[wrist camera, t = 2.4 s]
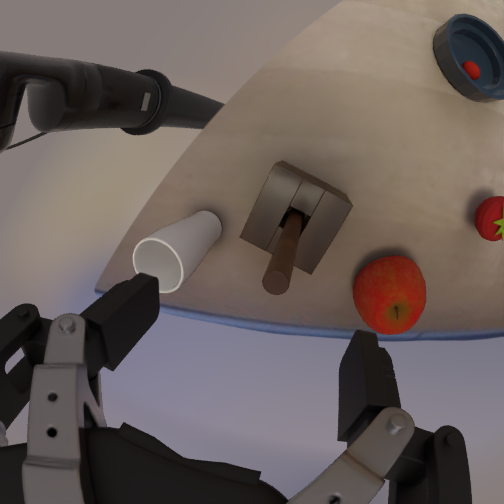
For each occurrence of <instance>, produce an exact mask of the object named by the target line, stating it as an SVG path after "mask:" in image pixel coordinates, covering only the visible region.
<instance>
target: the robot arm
mask: <svg viewBox="0 0 504 504" xmlns="http://www.w3.org/2000/svg"><path fill="white" fill-rule="evenodd" d="M25 88H27V96H28V112H29V117H30V120H31V122H32V124H33V126H34V127H35V128H36V129H37V130H38V131H41V132H42V133H40V134H38V135H36V136H33V137H31V138H29V139H26V140H24V141H22V142H19V143H17V144H14V145H11V146H9V145H10V143H11V141H12V138H13V134H14V130H15V125H16V121H17V117H18V113H19V109H20V105H21V101H22V98H23V94H24V90H25ZM162 99H163V94H162V89H161V86H160V84H159V83H158V81H157V80H155V79H154V78H152V77H150V76H146V75H141V74H137V73H133V72H130V71H126V70H122V69H117V68H113V67H109V66H103V65H100V64H94V63H88V62H83V61H77V60H70V59H62V58H53V57H44V56H36V55H29V54H22V53H14V52H5V51H0V153H2V152H3V151H4V150H7V149H11V148H13V147H16V146H19V145H21V144H24V143H26V142H29V141H31V140H33V139H36V138H38V137H40V136H42V135H44V134H47V133H49V132H58V131H67V130H78V129H93V128H141V127H144V126H146V125H148V124H149V123H150V122H151V121H153V119H154V118H155V117H156V116H157V114H158V112H159V110H160V108H161V105H162ZM8 146H9V147H8ZM159 310H160V303H159V280H158V278H157V277H155V276H151V275H148V274H145V273H142V272H140V273H138V274H137V275H136V276H135V277H133V278H132V279H131V280H130V281H129V280H126V281H123V282H121V283H118V284H116V285H115V286H114V287H112V288H111V289H110V290H109V291H108V292H106V293H105V294H104V295H102V297H100V298H99V299H98V300H96V301H95V302H94V303H93V304H92V305H90V306H89V307H88V308H87V309H85V310H84V311H83V312H82V313H81V314H80V315H77V314H72V313H68V314H63V315H60V316H58V317H57V318H55V319H54V320H50V319H46V318H42V317H40V314H39V312H38V308H37V307H36V306H35V305H32V304H21V305H19V306H17V307H15V308H14V309H12V310H11V311H10V312H9V313H8V314H6V315H5V316H4V317H3V318H2V319H0V504H369V503H370V501H371V500H372V499H373V498H374V497H375V495H376V494H377V493H378V491H380V489H381V488H382V486H383V485H384V483H385V480H384V479H387V480H390V481H389V497H388V504H472V494H471V482H470V473H469V465H468V458H467V452H466V446H465V441H464V437H463V435H462V434H461V432H460V431H459V430H458V429H456V428H455V427H453V426H449V425H447V426H442V427H440V428H439V429H438V430H437V431H436V432H435V433H433V432H429V431H426V430H423V429H420V428H418V427H415V424H414V421H413V419H412V417H411V416H410V415H409V413H407V412H406V411H405V410H403V409H401V404H400V398H399V393H398V387H397V382H396V379H395V373H394V370H393V364H392V359H391V357H390V355H389V354H388V352H387V351H386V350H385V348H381V347H379V345H378V340H377V336H376V334H375V333H372V332H367V331H362V330H356V331H355V333H354V335H353V337H352V339H351V341H350V343H349V346H348V348H347V350H346V352H345V354H344V356H343V358H342V360H341V363H340V368H339V414H338V441H344V442H347V449H346V450H345V451H344V452H343V453H342V454H341V455H340V456H339V457H338V458H337V459H336V460H335V461H334V462H333V463H332V464H331V465H330V466H329V467H328V468H327V469H325V470H324V471H323V472H322V473H321V474H320V475H319V476H318V477H316V478H315V479H314V480H313V481H312V482H311V483H309V484H308V485H307V486H306V487H305V488H304V489H302V490H301V491H300V492H298V493H297V494H296V495H295V496H293V497H292V498H291V499H289V500H287V499H286V497H285V496H284V495H283V494H282V493H280V492H279V491H278V490H277V489H275V488H274V487H273V486H271V485H269V484H268V483H266V482H264V481H262V480H260V479H259V478H260V474H261V472H260V471H256V470H251V469H247V468H243V467H239V466H235V465H232V464H228V463H222V462H212V461H202V460H194V459H188V458H184V457H182V456H181V455H179V454H177V453H176V452H175V451H173V450H172V449H170V448H169V447H167V446H166V445H165V444H163V443H162V442H160V441H159V440H158V439H156V438H155V437H153V436H151V435H149V434H147V433H145V432H143V431H140V430H138V429H136V428H134V427H132V426H130V425H128V424H126V423H124V422H123V424H122V425H121V427H120V428H119V429H118V428H111V427H107V424H106V421H105V418H104V413H103V405H102V393H101V377H100V372H99V371H100V370H101V368H102V367H103V366H104V367H105V368H107V369H109V370H111V371H114V370H115V369H116V367H117V366H118V365H119V364H120V363H121V361H122V360H123V359H124V358H125V357H126V355H127V354H128V353H129V352H130V351H131V349H132V348H133V347H134V346H135V345H136V343H137V342H138V341H139V340H140V339H141V338H142V336H143V335H144V334H145V333H146V332H147V331H148V329H149V328H150V327H151V326H152V325H153V324H154V322H155V321H156V320H157V317H158V315H159ZM20 347H21V348H22V350H23V353H24V355H25V356H24V357H23V358H22V359H21V360H20V361H19V362H18V363H17V364H16V365H15V366H14V367H13V368H12V369H11V371H10V372H9V373H8V374H6V372H5V364H6V362H7V361H8V359H9V358H10V357H11V356H12V355H13V354H14V353H15V352H16V351H17V350H19V348H20ZM29 400H30V403H29V414H28V433H27V434H28V435H27V443H21V444H15V445H9V446H8V439H7V438H6V437H5V436H6V430H7V429H8V427H9V426H10V424H11V423H12V422H13V421H14V419H15V418H16V417H17V415H18V414H19V413H20V412H21V410H22V409H23V408H24V406H25V405H26V404H27V403H28V402H29ZM383 478H384V479H383Z"/></svg>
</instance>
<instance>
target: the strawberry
mask: <svg viewBox="0 0 504 504" xmlns="http://www.w3.org/2000/svg"><path fill="white" fill-rule="evenodd" d="M475 226H476V228H477V230H478V232H479V234H480V235H481V237H482V238H484V239H486V240H489V241H498V240H500V239H502V241H503V238H504V197H503V196H496V197H490V198H488V199H486V200H485V201H483V202H482V203H481V204H480V205H479V207H478V208H477V210H476V214H475Z"/></svg>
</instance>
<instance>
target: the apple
mask: <svg viewBox="0 0 504 504" xmlns="http://www.w3.org/2000/svg"><path fill="white" fill-rule="evenodd" d="M353 299H354V303H355V306H356V309H357V310H358V312H359V314H360V316H361V318H362V319H363V321H364V322H365V323H366V324H367V325H368V326H369V327H370V328H372V329H373V330H375V331H376V332H378V333H381V334H386V335H392V334H399V333H403V332H405V331H407V330H409V329H410V328H411V327H412V326H413V325H414V324H415V323H416V322H417V321H418V319H419V317H420V315H421V314H422V312H423V310H424V307H425V303H426V284H425V280H424V278H423V275H422V273H421V271H420V269H419V267H418V266H417V265H416V263H414V262H413V261H412V260H410V259H409V258H407V257H403V256H388V257H382V258H379V259H377V260H375V261H372V262H370V263H369V264H368V265H367V266H366V267H364V268H363V269H362V270H361V271H360V272H359V274H358V275H357V276H356V278H355V281H354V285H353Z"/></svg>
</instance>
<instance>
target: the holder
mask: <svg viewBox="0 0 504 504" xmlns="http://www.w3.org/2000/svg"><path fill="white" fill-rule="evenodd" d="M289 205H290V206H291V207H293V208H295V209H297V210H299V211H301V212H303V213H304V214H306V216H305V218H304V220H303V222H302V226H301V232H300V237H299V241H298V246H297V251H296V256H295V261H294V265H293V266H295V267H297V268H299V269H301V270H303V271H305V272H307V273H308V274H310V275H311V274H312V273H313V271H314V270H315V268H316V267H317V265H318V263H319V262H320V260H321V259H322V257H323V255H324V254H325V252H326V250H327V249H328V247H329V246H330V244H331V242H332V241H333V239H334V237H335V236H336V234H337V232H338V231H339V229H340V227H341V226H342V224H343V222H344V221H345V219H346V217H347V215H348V214H349V212H350V210H351V208H352V207H353V205H352V203H351V201H350V200H349V198H348V196H347V195H346V194H344V193H343V192H341V191H339V190H337V189H336V188H334V187H332V186H330V185H329V184H327V183H325V182H323V181H321V180H319V179H318V178H316V177H314V176H312V175H310V174H308V173H306V172H304V171H302V170H300V169H299V168H297V167H295V166H293V165H291V164H289V163H287V162H285V161H283V160H282V161H279V162H277V163H275V164H274V166H273V168H272V170H271V172H270V174H269V176H268V178H267V180H266V182H265V184H264V186H263V188H262V190H261V193H260V195H259V197H258V199H257V201H256V203H255V205H254V207H253V209H252V211H251V213H250V216H249V218H248V220H247V222H246V224H245V226H244V228H243V230H242V233H241V235H240V238H242V239H244V240H245V241H247V242H249V243H251V244H253V245H255V246H257V247H259V248H261V249H263V250H265V251H267V252H269V253H271V254H272V255H273V253H274V250H275V248H276V245H277V243H278V240H279V238H280V236H281V233H282V231H283V228H284V226H285V223H286V221H287V218H288V216H289V214H287V213H286V211H287V209H288V207H289Z"/></svg>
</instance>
